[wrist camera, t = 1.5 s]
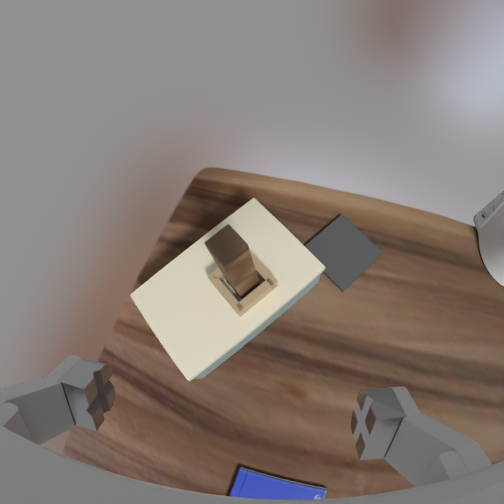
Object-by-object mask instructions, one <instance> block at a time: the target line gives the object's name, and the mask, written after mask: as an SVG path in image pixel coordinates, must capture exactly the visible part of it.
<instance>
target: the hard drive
mask: <svg viewBox="0 0 504 504" xmlns="http://www.w3.org/2000/svg"><path fill="white" fill-rule="evenodd" d="M326 491H327V488H323V487H318V486H313V485H308V484H303V483H299V482H294V481H290V480H286V479H282V478H278V477H274V476H270V475H267V474H263V473H260V472H256V471H253V470H249V469H246V468H243V467H240V469H239V472H238V474H237V477H236V480H235V483H234V485H233V488H232V491H231V493H230V496H231V497H241V498H255V499H278V500H308V499H323V498H324V496H325V494H326Z"/></svg>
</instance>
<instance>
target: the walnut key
mask: <svg viewBox="0 0 504 504" xmlns="http://www.w3.org/2000/svg"><path fill="white" fill-rule="evenodd" d="M204 243H205V245H206V247H207V249H208V250H209V252H210V254H211V255H212V257H213V259H214V261H215V262H216V264H217V266H218V267H219V269H220V271H221V272H222V274H223V276H224V277H225V279H226V281H227V282H228V284H229V285H230V286H231V287H232V289H233V290H234V291H235V292H236V293H237V294H238V296H239V297H240V298H241V299H243V298H245V297H246V296H247V295H248V294H250V293H251V292H252V291H253V290H254V289H256V288H257V287H258V286H259V285H260V282H259V279H258V276H257V272H256V269H255V266H254V263H253V259H252V256H251V253H250V250H249V246H248V244H247V243H246V242H245V241H244V240H243V239H242V238H241V236H240V235H239V234H238V233H237V232H236V231H235V230H234V229H233V228H232V227H231V226H230V225H229V224H227V225H226V226H225V227H224V228H222V229H221V230H220V231H218V232H217V233H216V234H215V235H213V236H212V237H211V238H209V239H208V240H207V241H206V242H204Z"/></svg>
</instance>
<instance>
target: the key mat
mask: <svg viewBox="0 0 504 504" xmlns="http://www.w3.org/2000/svg"><path fill="white" fill-rule="evenodd" d="M305 247H306V248H307V249H308V250H309V251H310V252H311V253H312V254H313V255H314V256H315V257H316V258H317V259H318V260H319V261H320V262H321V263H322V264H323V265H324V266H325V270H324V271H323V273H324V274H325V275H326V276H327V277H328V278H329V279H330V280H331V281H332V282H333V283H334V284H335V285H336V286H337V287H338V288H339V289H340V290H341V291H342V292H343V291H344V290H345V289H346V288H347V287H348V286H349V285H350V284H351V283H352V282H353V281H355V280H356V279H357V278H358V277H359V276H360V275H361V274H362V273H363V272H364V271H365V270H366V269H367V268H368V267H369V266H370V265H371V264H372V263H373V262H374V261H375V260H376V259H377V258H378V257H379V256H380V255H381V254H382V251H381V250H380V249H379V248H378V247H376V246H375V245H374V244H373V243H372V242H371V241H370V240H369V239H368V238H367V237H366V236H365V235H364V234H363V233H362V232H360V231H359V230H358V229H357V228H356V227H355V226H354V225H353V224H352V223H351V222H350V221H348V220H347V219H346V218H345V217H344V216H343V215H342V214H341V215H340V216H339V217H338V218H337V219H336V220H334V221H333V222H332V223H331V224H330V225H329V226H327V227H326V228H325V229H324V230H323V231H322V232H320V233H319V234H318V235H317V236H316V237H315V238H313V239H312V240H311V241H310V242H309V243H307V244H306V245H305Z"/></svg>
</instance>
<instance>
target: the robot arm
mask: <svg viewBox="0 0 504 504" xmlns="http://www.w3.org/2000/svg"><path fill="white" fill-rule="evenodd" d="M474 223H475V226H476V229H477V231H478V236H479V248H480V253H481V256H482V259H483V262H484V264H485V266H486V268H487V270H488V271H489V273H490V274H491V275H492V277H493V278H494V279H495V280H496V281H497V282H498V283H500V284H501V285H502V286H504V191H503V192H502V193H501V194H500V195H499V196H497V197H496V198H495V199H494V200H493V201H492V202H490V203H489V204H488V205H487V206H486V207H485V208H483V209H482V210H481V211H480V212H479V213H477V214H476V215H475V216H474ZM111 376H112V374H111V370H110V367H109V366H108V365H106V364H103V363H99V362H95V361H91V360H87V359H84V358H80V357H76V356H68V357H67V358H66V359H65V360H64V361H63V362H62V363H61V364H60V365H59V366H58V367H57V368H56V369H55V370H53V371H52V372H51V373H50V374H49V375H48V376H47V377H40V378H36V379H33V380H30V381H26V382H22V383H19V384H15V385H12V386H8V387H5V388H1V389H0V504H504V461H501V462H499V463H496V464H493V465H492V464H491V462H490V461H489V459H488V458H487V456H486V454H485V453H484V451H483V450H482V448H481V447H480V445H479V443H477V442H475V441H473V440H472V439H470V438H468V437H466V436H464V435H462V434H460V433H458V432H456V431H455V430H453V429H451V428H449V427H447V426H445V425H443V424H442V423H440V422H438V421H436V420H434V419H432V418H431V417H429V416H427V415H422V414H421V413H420V411H419V409H418V407H417V406H416V404H415V402H414V401H413V399H412V397H411V395H410V394H409V392H408V390H407V389H406V388H405V387H404V386H400V387H390V388H381V389H361V391H360V392H359V395H358V398H357V400H358V403H359V406H357V407H356V408H355V409H354V411H353V414H352V420H351V430H352V434H353V436H354V437H355V438H356V439H358V441H357V443H356V449H357V452H358V456H359V459H360V460H364V459H378V458H384V459H385V460H386V461H387V462H388V463H389V464H390V465H391V466H392V467H393V468H395V469H396V470H397V471H398V472H399V473H400V474H401V475H402V476H404V477H405V478H406V479H407V480H408V481H409V482H410V483H412V484H413V485H414V486H415V487H414V488H409V489H404V490H398V491H392V492H386V493H380V494H372V495H364V496H355V497H345V498H331V499H308V500H278V499H255V498H241V497H231V496H222V495H213V494H206V493H199V492H193V491H187V490H182V489H176V488H171V487H166V486H162V485H157V484H153V483H149V482H144V481H140V480H137V479H133V478H129V477H126V476H122V475H119V474H115V473H112V472H109V471H106V470H103V469H100V468H97V467H94V466H91V465H88V464H85V463H82V462H80V461H77V460H74V459H72V458H69V457H67V456H64V455H62V454H59V453H57V452H55V451H52V450H50V449H48V448H46V447H43V446H41V444H43V443H45V442H46V441H49V440H50V439H52V438H54V437H56V436H58V435H60V434H62V433H63V432H65V431H67V430H69V429H71V428H73V427H74V426H75V425H77V426H80V427H84V428H87V429H90V430H94V431H97V430H98V428H99V427H100V425H101V424H102V422H103V421H104V415H103V414H104V413H106V412H109V411H110V410H111V408H112V406H113V404H114V400H115V389H114V386H113V384H112V383H111V382H110V381H109V379H110V377H111Z"/></svg>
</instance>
